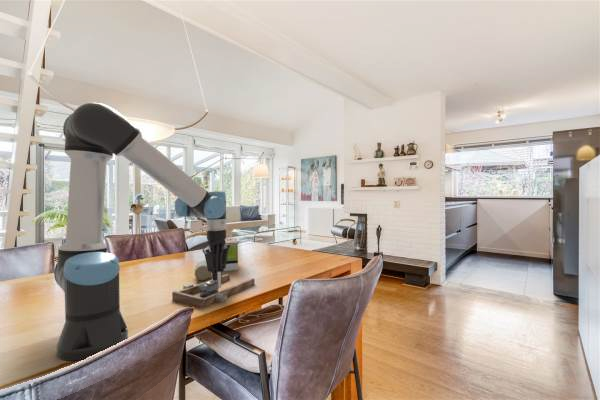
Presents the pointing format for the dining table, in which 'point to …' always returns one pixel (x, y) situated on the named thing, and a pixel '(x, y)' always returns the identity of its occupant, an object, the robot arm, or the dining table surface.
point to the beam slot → (220, 297)
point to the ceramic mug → (202, 271)
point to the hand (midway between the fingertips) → (217, 287)
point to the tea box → (232, 255)
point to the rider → (208, 289)
